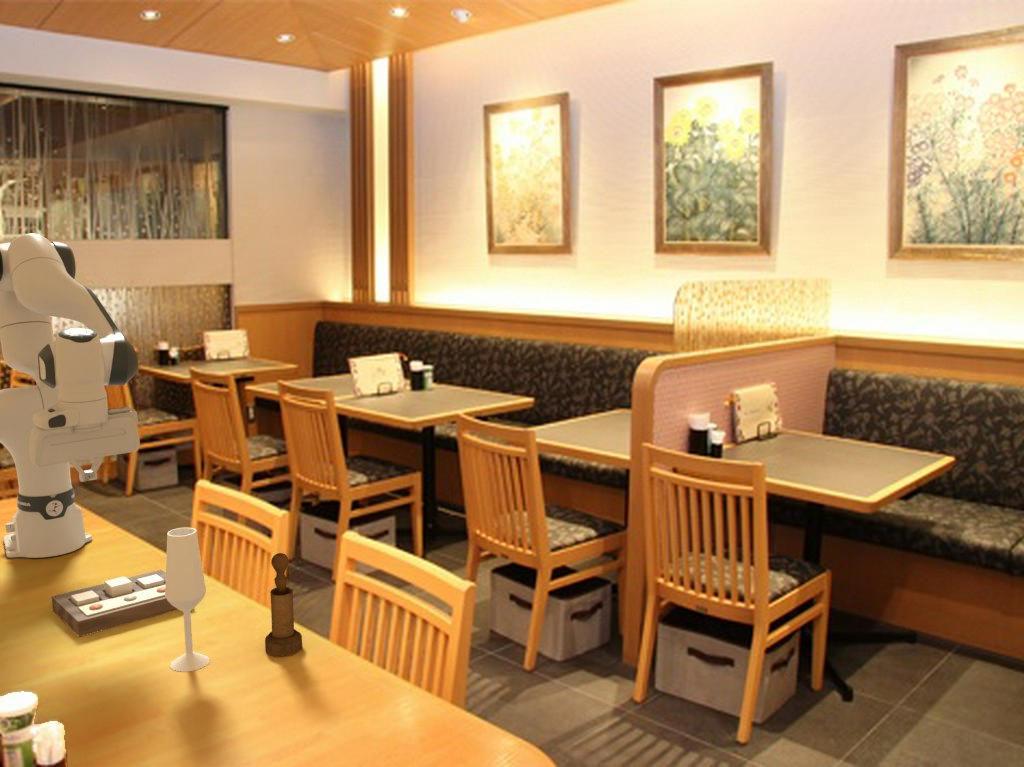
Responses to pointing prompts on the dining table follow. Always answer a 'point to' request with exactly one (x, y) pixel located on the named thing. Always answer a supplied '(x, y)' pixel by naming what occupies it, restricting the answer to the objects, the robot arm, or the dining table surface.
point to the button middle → (118, 587)
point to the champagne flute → (185, 589)
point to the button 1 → (84, 598)
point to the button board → (113, 617)
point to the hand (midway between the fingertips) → (88, 479)
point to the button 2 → (150, 581)
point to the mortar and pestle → (282, 614)
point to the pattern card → (123, 601)
